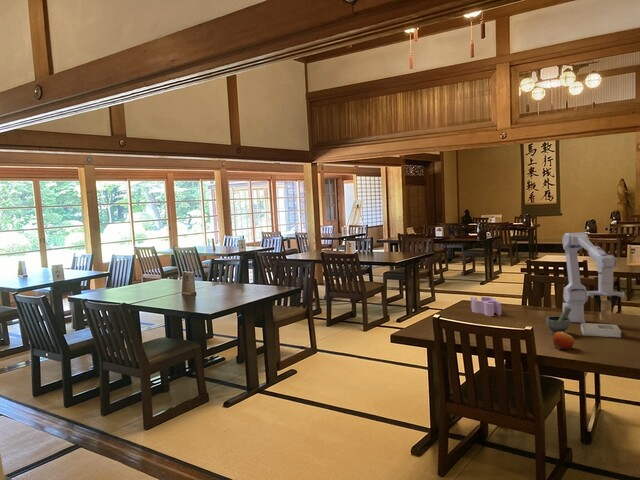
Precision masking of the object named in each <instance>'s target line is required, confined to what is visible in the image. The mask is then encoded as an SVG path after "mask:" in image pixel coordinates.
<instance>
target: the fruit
mask: <svg viewBox="0 0 640 480" xmlns="http://www.w3.org/2000/svg"><path fill="white" fill-rule="evenodd" d="M552 342H553V347H554V348H557V351H560V349H561V350H570V349H572V348H573V346H574V344H575V339H574V337H573V335H570V334H568V333H566V332H565V333H564V332H556V333H555V334H553V337H552Z"/></svg>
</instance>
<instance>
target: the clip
mask: <svg viewBox="0 0 640 480" xmlns="http://www.w3.org/2000/svg"><path fill="white" fill-rule="evenodd" d="M480 298H481V300H479V299H478V298H477V297H475V296H471V297H470V309H471V311H472V313H475V314H482V315H485V316H486V315H487V317H491V316H495V315H497V316H498V315H499V316H498V317H501V316H502V302H501V301H499V300H498V301H497V300H496V298H494V297H490V296H483V295H482V296H481V297H480ZM494 313H496V314H494ZM500 315H501V316H500Z"/></svg>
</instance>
